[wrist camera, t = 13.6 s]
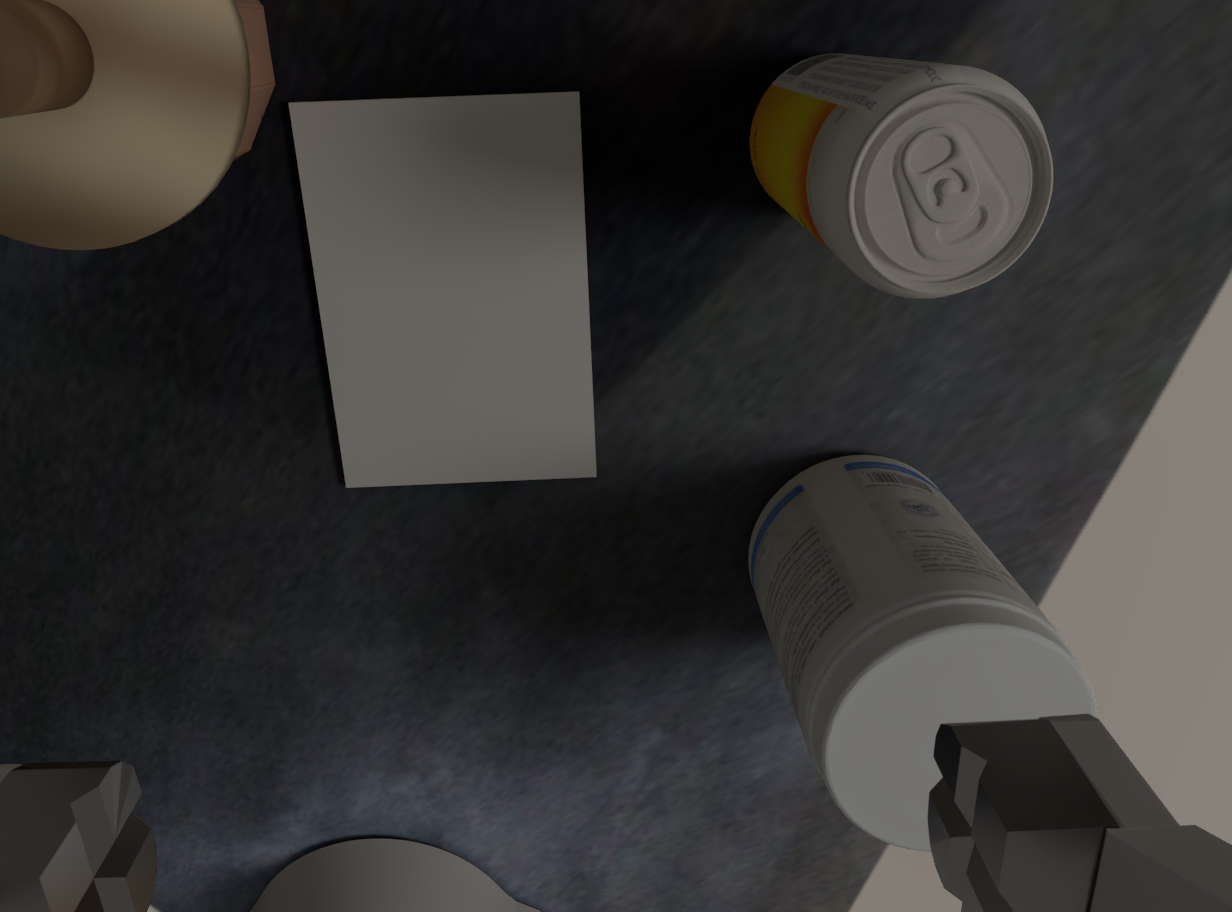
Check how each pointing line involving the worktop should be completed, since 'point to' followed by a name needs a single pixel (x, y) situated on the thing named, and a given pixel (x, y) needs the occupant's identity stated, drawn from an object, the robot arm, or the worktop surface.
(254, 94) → the bowl
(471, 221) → the mat
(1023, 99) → the beer can
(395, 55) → the worktop surface
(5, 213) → the lid
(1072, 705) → the supplement tub
